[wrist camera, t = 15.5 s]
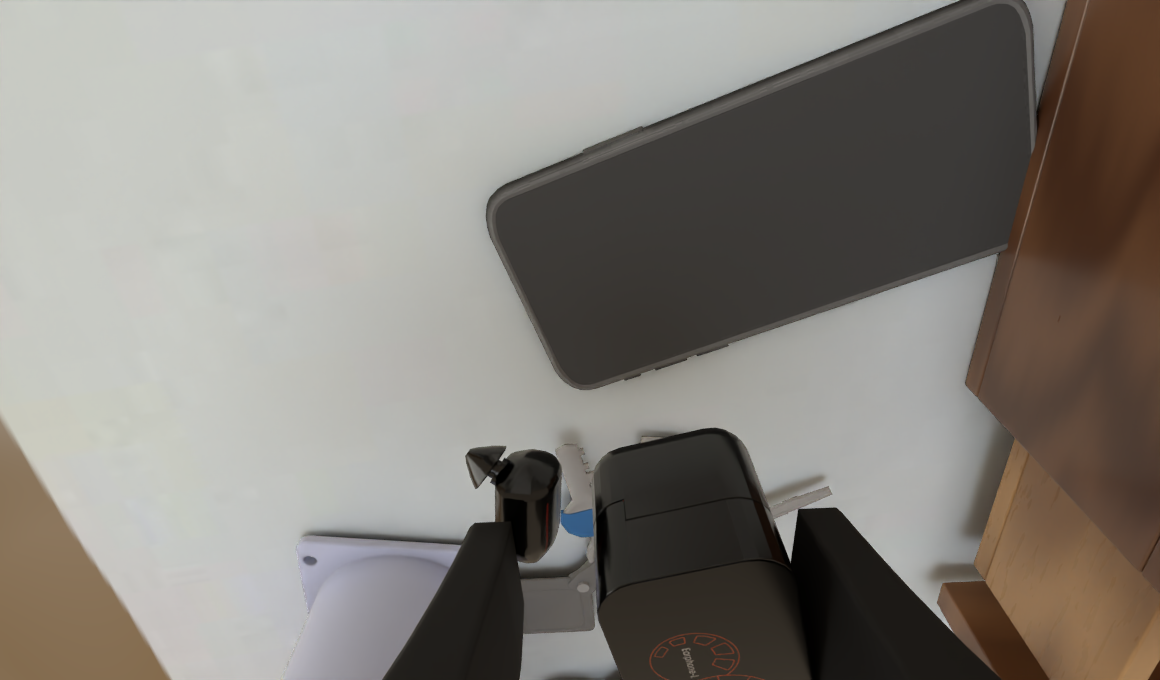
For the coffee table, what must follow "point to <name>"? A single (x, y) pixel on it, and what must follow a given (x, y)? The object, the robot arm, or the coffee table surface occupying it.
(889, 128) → the smartphone
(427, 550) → the robot arm
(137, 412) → the coffee table surface
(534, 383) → the coffee table surface
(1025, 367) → the cabinet
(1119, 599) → the drawer
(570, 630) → the key chain
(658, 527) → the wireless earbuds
